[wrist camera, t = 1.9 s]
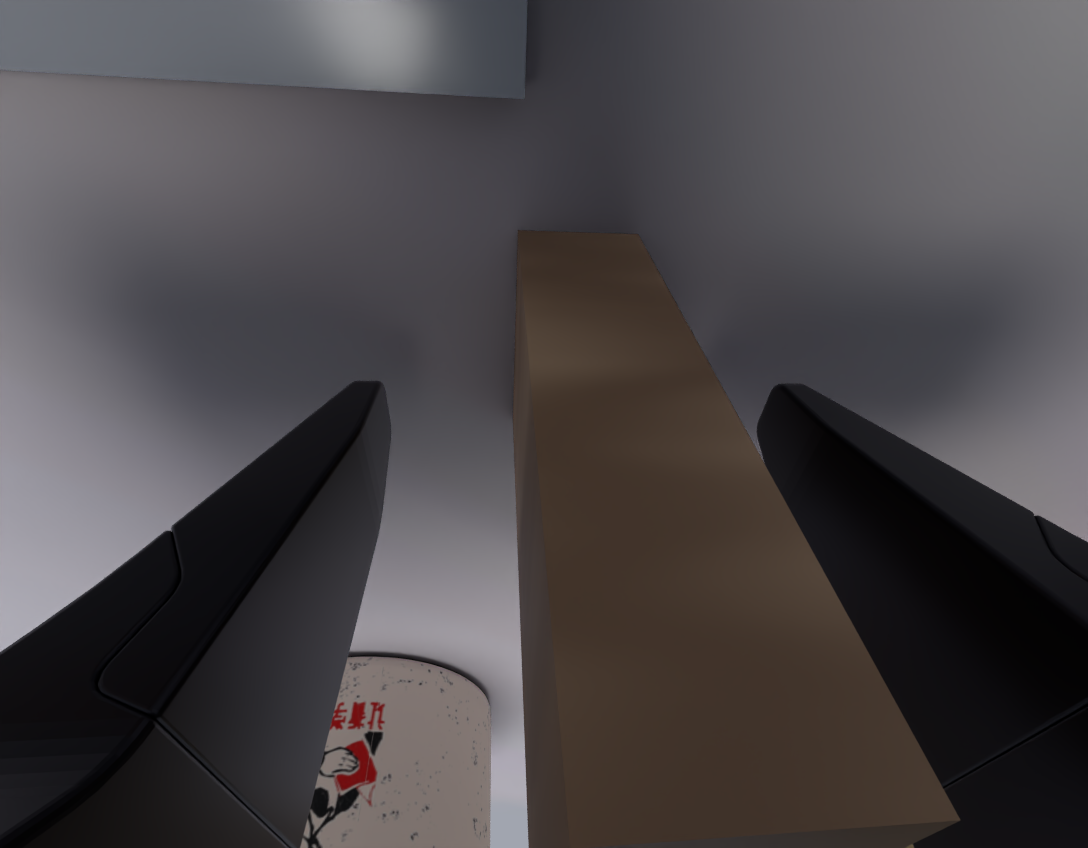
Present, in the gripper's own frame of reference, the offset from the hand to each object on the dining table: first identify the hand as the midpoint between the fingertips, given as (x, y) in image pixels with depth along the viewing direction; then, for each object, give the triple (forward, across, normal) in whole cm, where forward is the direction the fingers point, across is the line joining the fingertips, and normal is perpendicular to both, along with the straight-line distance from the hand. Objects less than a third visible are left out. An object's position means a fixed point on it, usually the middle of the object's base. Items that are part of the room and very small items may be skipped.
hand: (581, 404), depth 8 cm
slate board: (+2, +7, -11) cm, 13 cm away
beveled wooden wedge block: (+2, 0, 0) cm, 2 cm away
